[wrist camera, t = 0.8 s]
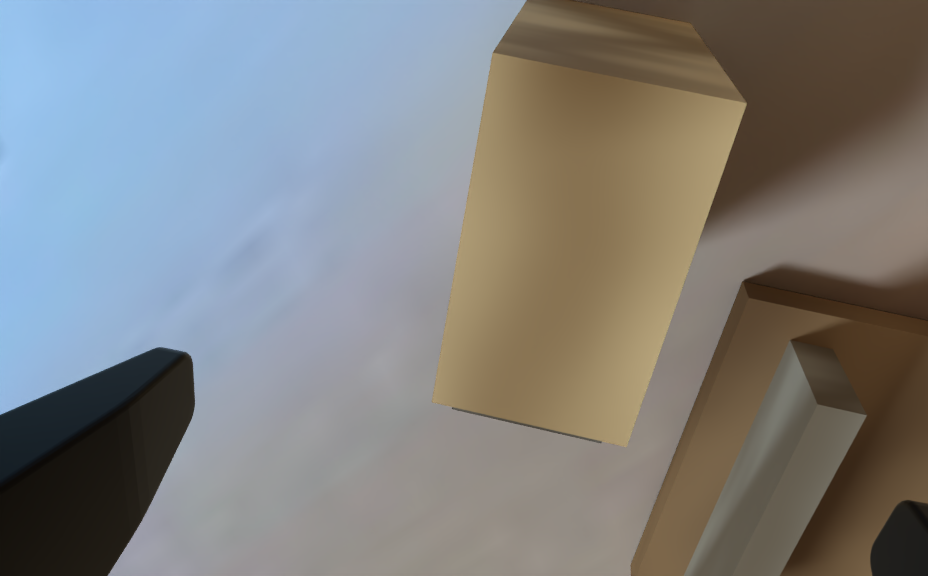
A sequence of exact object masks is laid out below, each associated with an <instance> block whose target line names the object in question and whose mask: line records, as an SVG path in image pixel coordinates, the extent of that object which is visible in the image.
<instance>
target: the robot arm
mask: <svg viewBox="0 0 928 576" xmlns="http://www.w3.org/2000/svg"><path fill="white" fill-rule="evenodd" d="M194 407H195V395H194V376H193V362H192V358H191V356H190V355H189V354H188V353H186V352H183V351H178V350H173V349H168V348H163V347H158V348H155V349H152V350H150V351H147V352H145V353H143V354H140V355H138V356H136V357H133V358H131V359H129V360H126V361H124V362H122V363H119V364H117V365H115V366H112V367H110V368H108V369H105V370H103V371H101V372H98V373H96V374H94V375H92V376H89V377H87V378H85V379H82V380H80V381H78V382H75V383H73V384H71V385H68V386H66V387H64V388H61V389H59V390H57V391H54V392H52V393H50V394H47V395H45V396H43V397H41V398H38V399H36V400H34V401H31V402H29V403H27V404H24V405H22V406H20V407H17V408H15V409H13V410H10V411H8V412H6V413H3V414H1V415H0V576H108V574H109V573H110V571H111V570H112V568H113V566H114V565H115V563H116V562H117V560H118V559H119V557H120V555H121V554H122V552H123V551H124V549H125V547H126V546H127V544H128V543H129V541H130V540H131V538H132V536H133V535H134V533H135V531H136V530H137V528H138V526H139V525H140V523H141V521H142V519H143V517H144V515H145V514H146V512H147V510H148V508H149V506H150V504H151V502H152V500H153V498H154V496H155V494H156V492H157V489H158V487H159V485H160V483H161V481H162V479H163V477H164V475H165V473H166V471H167V469H168V467H169V465H170V463H171V461H172V459H173V457H174V454H175V452H176V450H177V448H178V446H179V444H180V442H181V440H182V438H183V436H184V434H185V432H186V430H187V428H188V426H189V424H190V421H191V419H192V416H193V412H194ZM870 566H871V572H872V576H928V504H927V503H922V502H917V501H912V500H904V501H901V502H900V503H898V504H897V505H896V507H895V508H894V510H893V511H892V513H891V515H890V516H889V518H888V520H887V521H886V523H885V525H884V526H883V528H882V529H881V531H880V533H879V534H878V536H877V538H876V539H875V541H874V543H873V545H872V548H871V553H870Z"/></svg>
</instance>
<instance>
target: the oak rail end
mask: <svg viewBox="0 0 928 576" xmlns="http://www.w3.org/2000/svg"><path fill="white" fill-rule="evenodd" d="M746 105H747V102H746V101H745V100H744V98H743V97H742V95H741V94H740V93H739V91H738V90H737V88H736V87H735V85H734V84H733V83H732V81H731V80H730V78H729V77H728V76H727V74H726V73H725V71H724V70H723V68H722V67H721V66H720V64H719V63H718V61H717V60H716V59H715V57H714V56H713V54H712V53H711V51H710V50H709V49H708V47H707V46H706V44H705V43H704V42H703V40H702V39H701V37H700V36H699V35H698V33H697V32H696V30H695V29H694V27H693V26H692V25H691V23H687V22H681V21H676V20H671V19H666V18H661V17H656V16H650V15H645V14H640V13H635V12H630V11H625V10H619V9H614V8H609V7H604V6H599V5H593V4H588V3H583V2H578V1H573V0H527V1H526V3H525V4H524V6H523V7H522V9H521V10H520V12H519V13H518V15H517V16H516V18H515V19H514V21H513V22H512V24H511V25H510V27H509V29H508V30H507V32H506V33H505V35H504V36H503V38H502V39H501V41H500V42H499V44H498V45H497V47H496V48H495V50H494V52H493V54H492V60H491V66H490V71H489V77H488V83H487V88H486V94H485V100H484V106H483V111H482V117H481V123H480V129H479V134H478V140H477V146H476V152H475V157H474V163H473V169H472V174H471V180H470V186H469V192H468V197H467V203H466V209H465V215H464V220H463V226H462V232H461V238H460V243H459V249H458V255H457V260H456V266H455V272H454V278H453V283H452V289H451V295H450V301H449V306H448V312H447V318H446V323H445V329H444V335H443V341H442V346H441V352H440V358H439V364H438V369H437V375H436V381H435V387H434V392H433V398H432V402H433V403H437V404H442V405H446V406H450V407H452V409H454V410H458V411H463V412H467V413H471V414H476V415H480V416H484V417H489V418H493V419H498V420H502V421H506V422H511V423H515V424H519V425H524V426H528V427H532V428H537V429H541V430H545V431H550V432H554V433H558V434H563V435H567V436H571V437H576V438H580V439H584V440H589V441H593V442H597V443H601V442H607V443H611V444H616V445H620V446H624V447H627V444H628V442H629V439H630V436H631V433H632V430H633V427H634V424H635V422H636V419H637V416H638V413H639V410H640V407H641V404H642V402H643V399H644V396H645V393H646V390H647V387H648V385H649V382H650V379H651V376H652V373H653V370H654V367H655V365H656V362H657V359H658V356H659V353H660V350H661V347H662V345H663V342H664V339H665V336H666V333H667V330H668V327H669V325H670V322H671V319H672V316H673V313H674V310H675V307H676V305H677V302H678V299H679V296H680V293H681V290H682V288H683V285H684V282H685V279H686V276H687V273H688V270H689V268H690V265H691V262H692V259H693V256H694V253H695V250H696V248H697V245H698V242H699V239H700V236H701V233H702V230H703V228H704V225H705V222H706V219H707V216H708V213H709V211H710V208H711V205H712V202H713V199H714V196H715V193H716V191H717V188H718V185H719V182H720V179H721V176H722V173H723V171H724V168H725V165H726V162H727V159H728V156H729V153H730V151H731V148H732V145H733V142H734V139H735V136H736V133H737V131H738V128H739V125H740V122H741V119H742V116H743V114H744V111H745V108H746Z"/></svg>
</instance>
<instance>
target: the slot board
mask: <svg viewBox="0 0 928 576" xmlns="http://www.w3.org/2000/svg"><path fill="white" fill-rule="evenodd" d="M904 500H912V501H917V502H922V503H927V504H928V321H926V320H921V319H916V318H912V317H907V316H902V315H898V314H893V313H888V312H883V311H879V310H874V309H869V308H865V307H860V306H855V305H851V304H846V303H841V302H837V301H832V300H827V299H823V298H818V297H813V296H809V295H804V294H799V293H795V292H790V291H785V290H781V289H776V288H771V287H767V286H762V285H757V284H753V283H748V282H742V284H741V287H740V289H739V292H738V294H737V297H736V299H735V302H734V304H733V307H732V309H731V312H730V315H729V317H728V320H727V322H726V325H725V327H724V330H723V332H722V335H721V337H720V340H719V342H718V345H717V348H716V350H715V353H714V355H713V358H712V360H711V363H710V365H709V368H708V370H707V373H706V375H705V378H704V380H703V383H702V386H701V388H700V391H699V393H698V396H697V398H696V401H695V403H694V406H693V408H692V411H691V413H690V416H689V418H688V421H687V424H686V426H685V429H684V431H683V434H682V436H681V439H680V441H679V444H678V446H677V449H676V451H675V454H674V456H673V459H672V462H671V464H670V467H669V469H668V472H667V474H666V477H665V479H664V482H663V484H662V487H661V489H660V492H659V495H658V497H657V500H656V502H655V505H654V507H653V510H652V512H651V515H650V517H649V520H648V522H647V525H646V527H645V530H644V533H643V535H642V538H641V540H640V543H639V545H638V548H637V550H636V553H635V555H634V558H633V560H632V563H631V576H872V572H871V566H870V553H871V548H872V545H873V543H874V541H875V539H876V538H877V536H878V534H879V533H880V531H881V529H882V528H883V526H884V525H885V523H886V521H887V520H888V518H889V516H890V515H891V513H892V511H893V510H894V508H895V507H896V505H897V504H898V503H900V502H901V501H904Z"/></svg>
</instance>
